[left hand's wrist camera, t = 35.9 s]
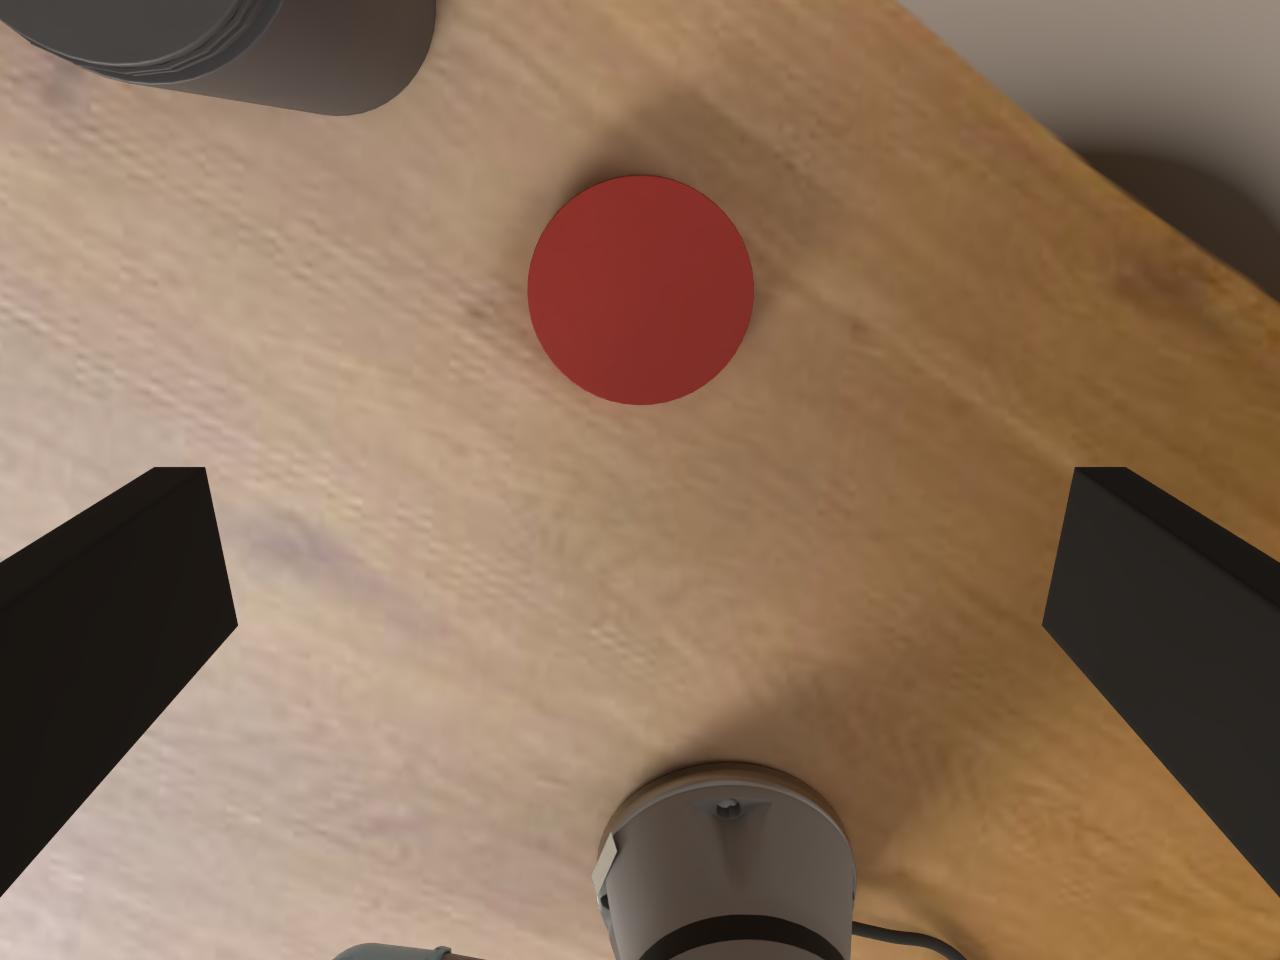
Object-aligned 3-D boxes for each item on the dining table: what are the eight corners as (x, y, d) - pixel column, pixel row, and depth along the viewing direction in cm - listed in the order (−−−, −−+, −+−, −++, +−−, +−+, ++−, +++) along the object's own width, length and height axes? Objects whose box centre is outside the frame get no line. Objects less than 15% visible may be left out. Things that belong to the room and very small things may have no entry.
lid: (581, 134, 34) (578, 133, 33) (787, 232, 36) (793, 235, 34) (501, 345, 38) (495, 353, 36) (692, 427, 39) (694, 438, 38)
